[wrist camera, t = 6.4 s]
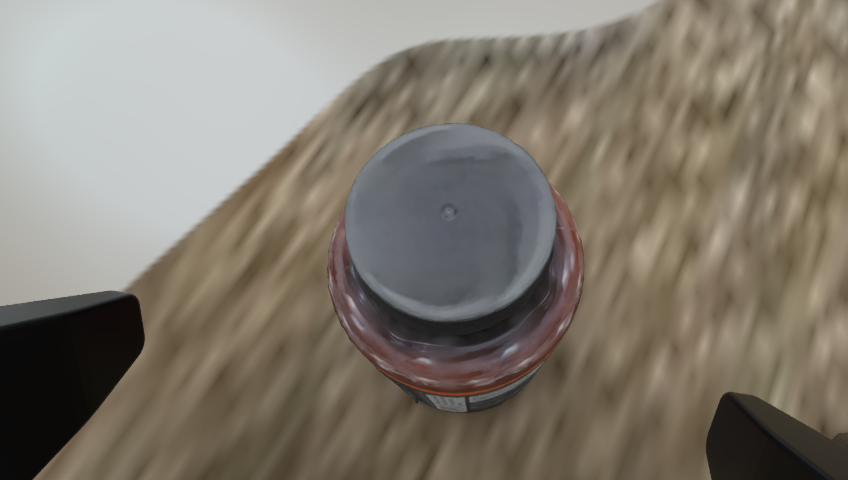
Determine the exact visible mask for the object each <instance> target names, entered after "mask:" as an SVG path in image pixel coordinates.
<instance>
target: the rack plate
mask: <svg viewBox="0 0 848 480" xmlns="http://www.w3.org/2000/svg"><path fill="white" fill-rule="evenodd" d="M833 441H835V442H837V443H838V444H840V445H842V446H844V447H845V448H847V449H848V433H839V434H838V435H837V436H836V437H835V438H834V439H833Z"/></svg>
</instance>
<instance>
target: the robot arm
mask: <svg viewBox="0 0 848 480" xmlns="http://www.w3.org/2000/svg"><path fill="white" fill-rule="evenodd" d="M144 341H145V334H144V328H143V322H142V316H141V310H140V304H139V300H138V298H137V297H136V296H135V295H134V294H131V293H125V292H119V291H104V292H97V293H91V294H83V295H76V296H69V297H63V298H56V299H48V300H41V301H34V302H27V303H21V304H14V305H7V306H0V480H33V479H34V478H35V477H36V475H37V474H38V473H39V472H40V471H41V470H42V469H43V468H44V467H45V466H46V465H47V464H48V463H49V462H50V461H51V460H52V459H53V458H54V457H55V455H56V454H57V453H58V452H59V451H60V450H61V449H62V448H63V447H64V446H65V445H66V444H67V443H68V442H69V441H70V440H71V439H72V438H73V437H74V435H75V434H76V433H77V432H78V431H79V430H80V429H81V428H82V427H83V426H84V425H85V424H86V422H87V421H88V420H89V419H90V418H91V417H92V415H93V414H94V413H95V412H96V411H97V409H98V408H99V407H100V406H101V404H102V403H103V402H104V400H105V399H106V398H107V396H108V395H109V394H110V393H111V391H112V390H113V389H114V387H115V386H116V385H117V383H118V382H119V381H120V380H121V378H122V377H123V376H124V374H125V373H126V372H127V371H128V369H129V368H130V367H131V365H132V364H133V363H134V361H135V360H136V359H137V358H138V356H139V355H140V353H141V351H142V349H143V346H144ZM706 455H707V460H708V465H709V469H710V474H711V479H712V480H848V449H847V448H845V447H844V446H842V445H840V444H838V443H837V442H835V441H833V440H831V439H830V438H828V437H826V436H824V435H823V434H821V433H819V432H817V431H816V430H814V429H812V428H811V427H809V426H807V425H805V424H804V423H802V422H800V421H798V420H797V419H795V418H793V417H791V416H790V415H788V414H786V413H784V412H783V411H781V410H779V409H777V408H776V407H774V406H772V405H770V404H769V403H767V402H765V401H763V400H762V399H760V398H758V397H755V396H753V395H747V394H741V393H735V392H727V393H725V394H724V395H723V396H722V397H721V399H720V402H719V404H718V407H717V410H716V413H715V415H714V418H713V421H712V424H711V427H710V429H709V432H708V435H707V440H706Z"/></svg>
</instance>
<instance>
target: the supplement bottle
mask: <svg viewBox="0 0 848 480" xmlns="http://www.w3.org/2000/svg"><path fill="white" fill-rule="evenodd" d="M328 252H329V256H328V267H327V271H328V283H329V284H328V289H329V292H330V295H331V299H332V303H333V306H334V309H335V312H336V314H337V316H338V318H339V321H340V324H341V326H342V327H343V328H344V330H345V331H346V333H347V335H348V337H349V339H350V341H351V342H352V343H353V344H354V345H355V346H356V348H357V349H358V350H359V351H360V352H361V353H362V354H363V355H364V356H365V357H366V358H367V359H368V360H369V361H370V362H371V363H373V364H374V366H375V367H376V368H377V369H378V370H379V371H380V372H382V373H383V374H384V375H385V376H387V377H388V378H389V379H391V380H392V381H393V382H394V383H396V384H397V385H398V386H399V387H401V389H403V390H404V391H405V392H406V393H407V394H408V395H410V396H412V397H413V398H414V400H415V402H416V403H418V401H419V402H420V403H423V404H425V405H428V406H431V407H434V408H438V409H442V410H445V411H450V412H475V411H481V410H485V409H489V408H492V407H494V406H496V405H498V404H501V403H502V402H504V401H506V400H507V399H509V398H511V397H512V396H514V395H515V394H516V393H517V392H519V391H520V390H521V389H522V388H523V387H524V386H525V385H526V384H527V383H528V382H529V381H530V380H531V379H532V377H533V376H534V375H535V373H536V372H537V371H538V369H539V368H540V367H541V366H542V364H543V363H544V362H545V360H546V359H547V358H548V357H549V355H550V354H551V353H552V352H553V350H554V349H555V348H556V346H557V345H558V343H559V342H560V340H561V339H562V337H563V336H564V334H565V333H566V331H567V330H568V328H569V326H570V324H571V322H572V320H573V318H574V315H575V312H576V310H577V307H578V304H579V301H580V296H581V292H582V286H583V280H584V254H583V247H582V241H581V238H580V234H579V231H578V228H577V225H576V223H575V220H574V218H573V216H572V214H571V212H570V210H569V208H568V206H567V204H566V202H565V201H564V199H563V198H562V196H561V195H560V194H559V193H558V192H557V191H556V189H555V188H554V187H553V186H552V184H551V183H550V182H548V180H547V178H546V176H545V175H544V173H543V172H542V170H541V168H540V167H539V166H538V164H537V163H536V162H535V160H534V159H533V158H532V157H531V156H530V154H529V153H528V152H527V151H525V150H524V149H523V148H522V147H521V146H519V145H517V144H516V143H514V142H513V141H512V140H510V139H509V138H507V137H505V136H503V135H501V134H499V133H497V132H495V131H492V130H490V129H485V128H483V127H479V126H474V125H469V124H460V123H445V124H437V125H430V126H426V127H422V128H418V129H416V130H412V131H410V132H408V133H406V134H403V135H401V136H399V137H398V138H396V139H394V140H392V141H391V142H389V143H388V144H386V145H385V146H384V147H383V148H381V149H380V150H379V151H378V152H377V153H375V154H374V155H373V156H372V158H371V159H370V160H369V161H368V162H367V163H366V164H365V166H364V167H363V168H362V169H361V171H360V172H359V174H358V176H357V178H356V179H355V181H354V183H353V186H352V188H351V191H350V193H349V196H348V200H347V205H346V206H345V208H344V210H343V211H342V213H341V215H340V217H339V219H338V222H337V224H336V226H335V230H334V233H333V235H332V239H331V242H330V247H329V250H328Z"/></svg>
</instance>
